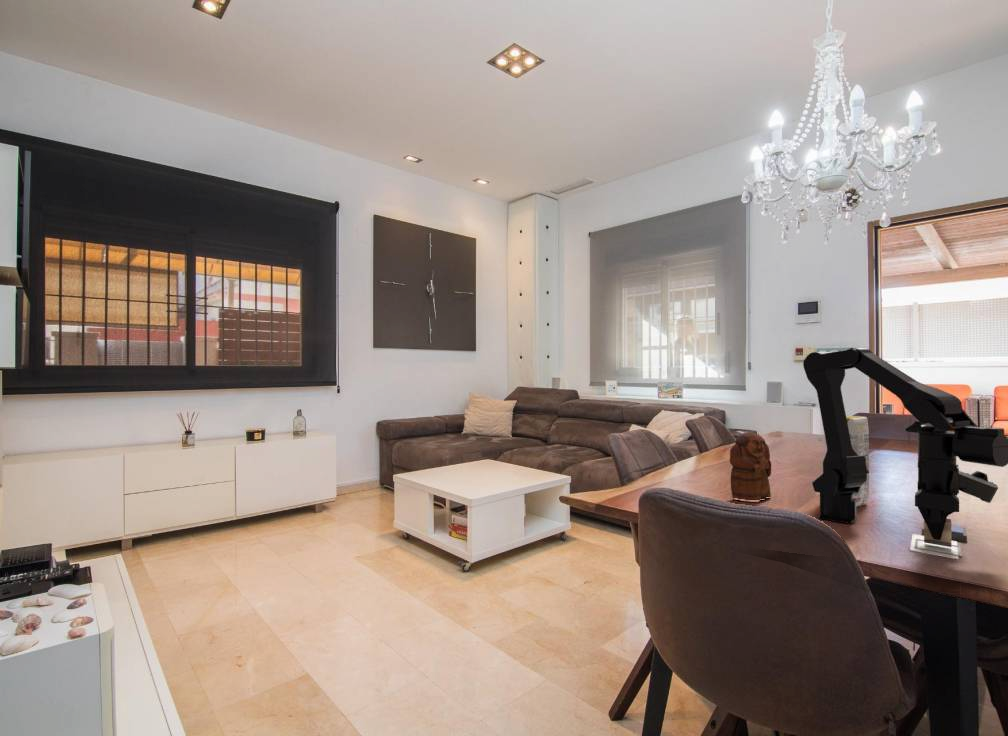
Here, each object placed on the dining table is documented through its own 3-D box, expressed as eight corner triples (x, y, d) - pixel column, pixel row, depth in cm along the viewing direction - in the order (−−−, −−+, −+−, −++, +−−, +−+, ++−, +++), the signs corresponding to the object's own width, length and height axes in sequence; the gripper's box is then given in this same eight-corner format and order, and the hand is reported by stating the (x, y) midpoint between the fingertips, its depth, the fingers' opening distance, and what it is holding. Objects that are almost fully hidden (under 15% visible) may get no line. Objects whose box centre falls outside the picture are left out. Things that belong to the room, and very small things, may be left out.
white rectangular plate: (910, 550, 97) (910, 549, 97) (912, 534, 106) (912, 533, 106) (961, 560, 92) (961, 558, 92) (959, 542, 101) (959, 541, 101)
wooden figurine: (749, 505, 130) (748, 435, 130) (727, 499, 135) (727, 432, 135) (776, 499, 135) (776, 432, 135) (754, 493, 141) (754, 430, 141)
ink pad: (922, 534, 106) (922, 526, 106) (922, 526, 112) (922, 519, 112) (966, 541, 102) (966, 534, 102) (965, 533, 107) (965, 525, 107)
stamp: (924, 542, 98) (924, 509, 98) (924, 537, 101) (924, 505, 101) (951, 547, 95) (951, 513, 95) (951, 541, 98) (951, 509, 98)
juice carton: (839, 497, 136) (839, 409, 136) (872, 504, 129) (872, 412, 129) (821, 502, 132) (820, 411, 132) (854, 509, 125) (854, 413, 125)
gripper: (998, 470, 86) (998, 560, 86) (990, 455, 100) (990, 533, 100) (914, 462, 93) (914, 545, 93) (918, 449, 107) (918, 522, 107)
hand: (936, 536), depth 98 cm, fingers closed on stamp, 4 cm apart
